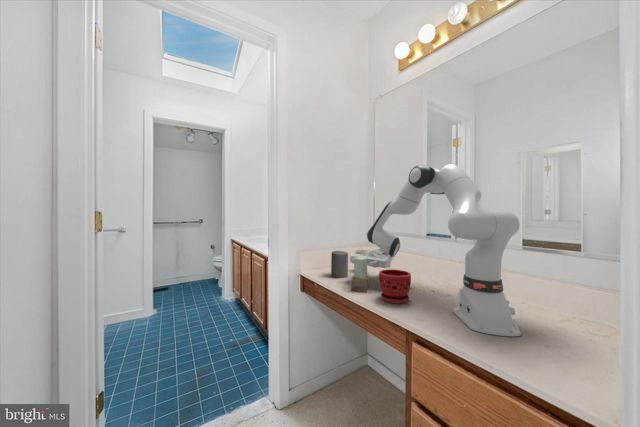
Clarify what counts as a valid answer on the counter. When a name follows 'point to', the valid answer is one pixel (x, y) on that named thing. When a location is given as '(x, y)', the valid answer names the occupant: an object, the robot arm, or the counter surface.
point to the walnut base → (360, 284)
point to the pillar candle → (339, 264)
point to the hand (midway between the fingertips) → (361, 263)
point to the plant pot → (395, 285)
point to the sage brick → (360, 267)
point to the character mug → (361, 252)
